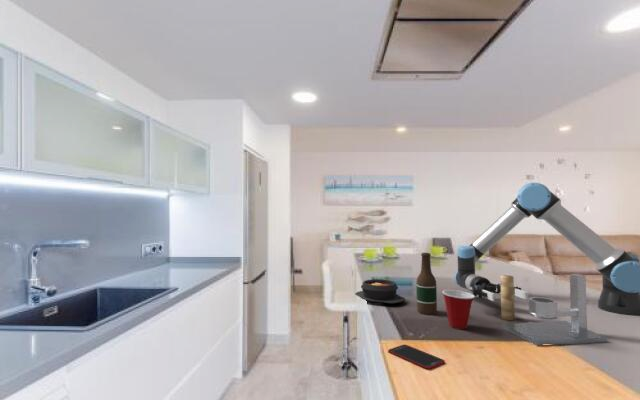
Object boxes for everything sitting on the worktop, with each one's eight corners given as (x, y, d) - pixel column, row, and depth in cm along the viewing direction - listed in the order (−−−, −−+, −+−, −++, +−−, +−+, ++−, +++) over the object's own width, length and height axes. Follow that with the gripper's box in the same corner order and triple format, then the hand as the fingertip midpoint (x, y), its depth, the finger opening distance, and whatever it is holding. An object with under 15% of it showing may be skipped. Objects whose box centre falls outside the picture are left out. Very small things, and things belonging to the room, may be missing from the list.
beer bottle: (436, 310, 143) (435, 252, 144) (436, 315, 136) (435, 254, 137) (417, 308, 146) (416, 251, 146) (416, 314, 138) (415, 253, 139)
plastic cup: (478, 332, 117) (478, 296, 117) (445, 330, 119) (444, 295, 119) (471, 322, 128) (471, 289, 128) (440, 320, 130) (440, 288, 130)
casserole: (414, 302, 156) (414, 283, 156) (387, 310, 144) (387, 289, 145) (372, 292, 175) (372, 275, 176) (346, 298, 164) (345, 280, 164)
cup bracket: (565, 325, 124) (563, 270, 124) (607, 342, 108) (605, 279, 109) (502, 328, 121) (501, 272, 122) (536, 346, 105) (534, 281, 106)
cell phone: (404, 347, 106) (404, 343, 106) (446, 364, 94) (446, 360, 94) (386, 353, 102) (386, 349, 102) (428, 372, 90) (428, 368, 90)
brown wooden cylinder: (509, 316, 134) (508, 275, 135) (517, 320, 130) (516, 277, 131) (498, 316, 134) (497, 275, 134) (506, 320, 130) (505, 277, 130)
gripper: (505, 292, 153) (541, 305, 132) (451, 294, 150) (479, 308, 129) (504, 275, 153) (540, 285, 132) (451, 276, 150) (478, 287, 129)
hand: (510, 296), depth 130 cm, fingers open, 13 cm apart
